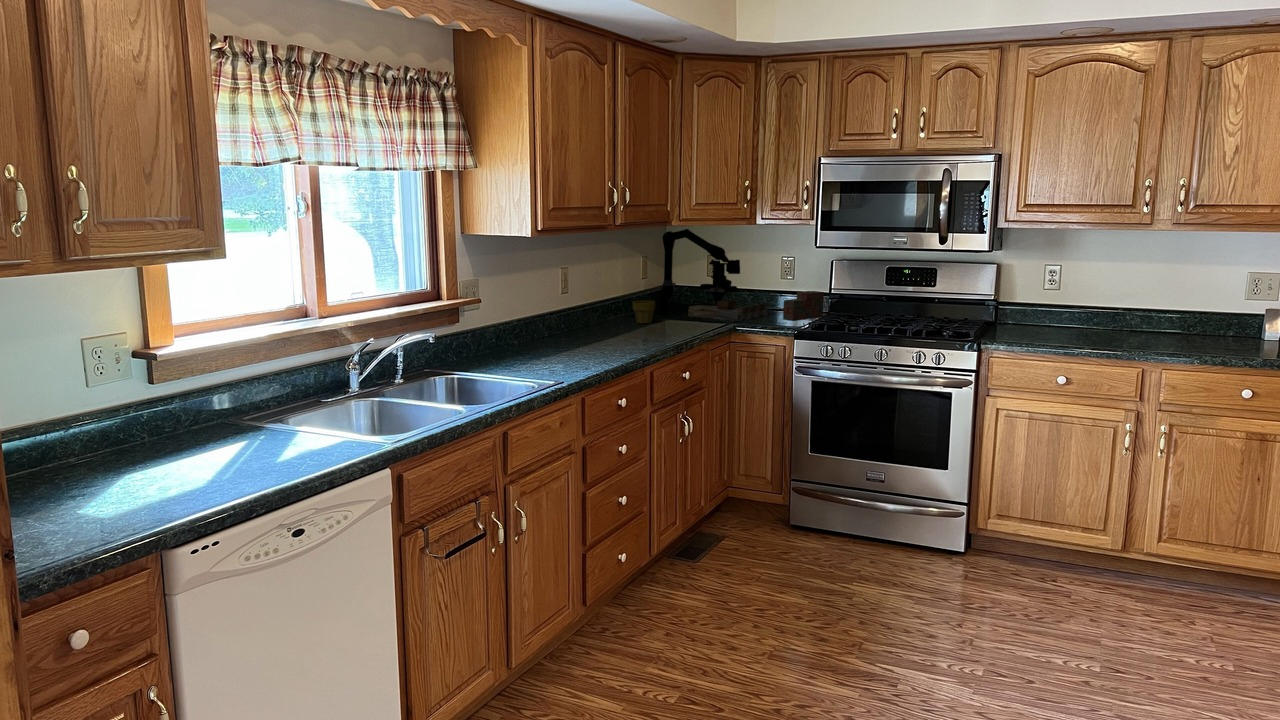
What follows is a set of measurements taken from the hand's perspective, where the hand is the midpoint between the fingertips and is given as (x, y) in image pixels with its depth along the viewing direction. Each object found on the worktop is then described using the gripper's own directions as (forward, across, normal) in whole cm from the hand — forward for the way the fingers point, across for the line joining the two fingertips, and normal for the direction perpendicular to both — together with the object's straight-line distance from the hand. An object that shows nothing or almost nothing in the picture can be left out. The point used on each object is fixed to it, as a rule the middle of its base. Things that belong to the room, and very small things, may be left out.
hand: (718, 306), depth 442 cm
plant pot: (+4, +11, +44) cm, 45 cm away
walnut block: (+1, -5, 0) cm, 5 cm away
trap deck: (+4, -2, 0) cm, 5 cm away
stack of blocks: (+4, -38, -15) cm, 41 cm away
